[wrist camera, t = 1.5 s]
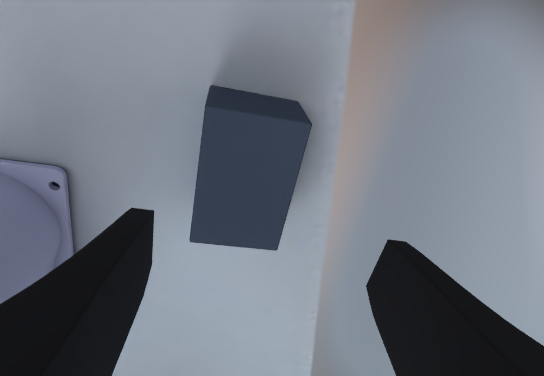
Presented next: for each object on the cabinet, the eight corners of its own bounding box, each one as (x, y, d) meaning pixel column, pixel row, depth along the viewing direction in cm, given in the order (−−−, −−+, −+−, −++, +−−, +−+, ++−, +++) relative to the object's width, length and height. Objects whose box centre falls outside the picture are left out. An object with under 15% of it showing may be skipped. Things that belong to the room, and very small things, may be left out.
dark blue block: (270, 213, 21) (277, 251, 18) (195, 204, 20) (189, 242, 17) (298, 101, 17) (312, 123, 14) (210, 84, 16) (205, 105, 13)
